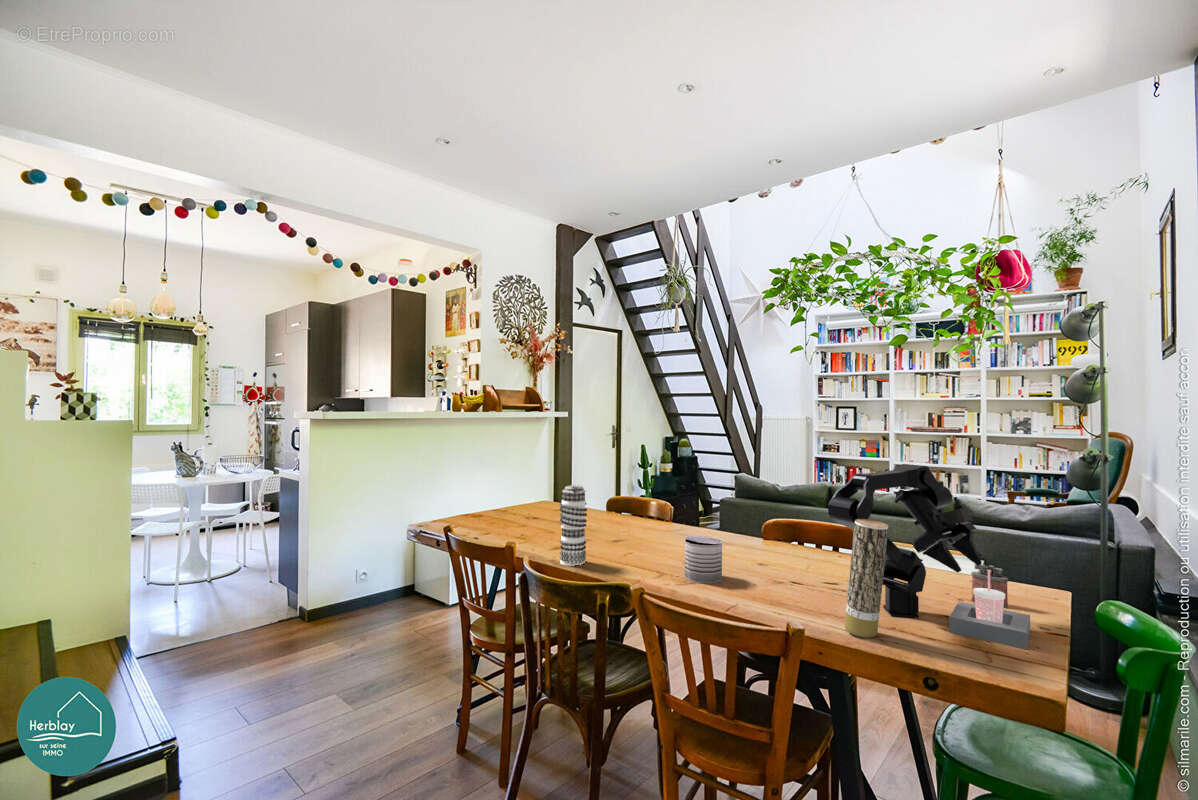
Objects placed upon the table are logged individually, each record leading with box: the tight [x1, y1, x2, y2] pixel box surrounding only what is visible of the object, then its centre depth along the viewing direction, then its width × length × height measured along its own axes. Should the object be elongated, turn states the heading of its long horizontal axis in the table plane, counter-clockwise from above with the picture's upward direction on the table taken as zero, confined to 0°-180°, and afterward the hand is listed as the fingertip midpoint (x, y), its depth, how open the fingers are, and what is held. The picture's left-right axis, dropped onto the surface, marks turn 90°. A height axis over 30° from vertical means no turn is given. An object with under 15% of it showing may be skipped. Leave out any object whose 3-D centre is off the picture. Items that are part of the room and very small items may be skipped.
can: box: [684, 535, 724, 584], centre depth 168 cm, size 11×11×12 cm
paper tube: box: [844, 519, 889, 639], centre depth 125 cm, size 7×7×25 cm
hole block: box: [948, 601, 1031, 650], centre depth 128 cm, size 14×14×4 cm
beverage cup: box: [973, 570, 1005, 624], centre depth 128 cm, size 6×6×14 cm
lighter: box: [970, 563, 1009, 609], centre depth 147 cm, size 8×3×10 cm, turn 44°
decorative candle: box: [559, 484, 588, 567], centre depth 184 cm, size 9×9×25 cm
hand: (970, 567), depth 132 cm, fingers open, 9 cm apart
